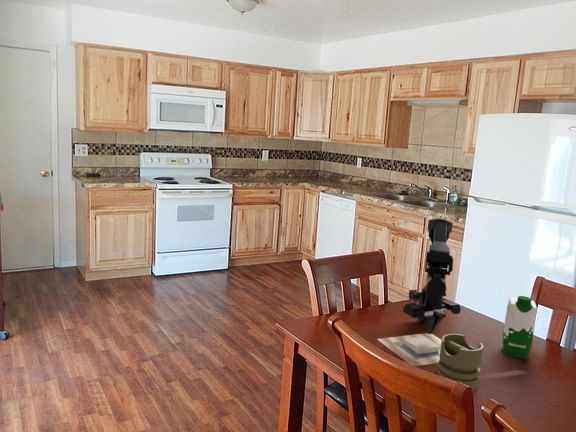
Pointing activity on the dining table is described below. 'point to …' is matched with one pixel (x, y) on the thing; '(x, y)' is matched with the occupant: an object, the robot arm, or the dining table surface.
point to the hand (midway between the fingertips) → (429, 333)
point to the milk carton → (519, 327)
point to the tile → (421, 345)
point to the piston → (460, 360)
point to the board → (409, 355)
